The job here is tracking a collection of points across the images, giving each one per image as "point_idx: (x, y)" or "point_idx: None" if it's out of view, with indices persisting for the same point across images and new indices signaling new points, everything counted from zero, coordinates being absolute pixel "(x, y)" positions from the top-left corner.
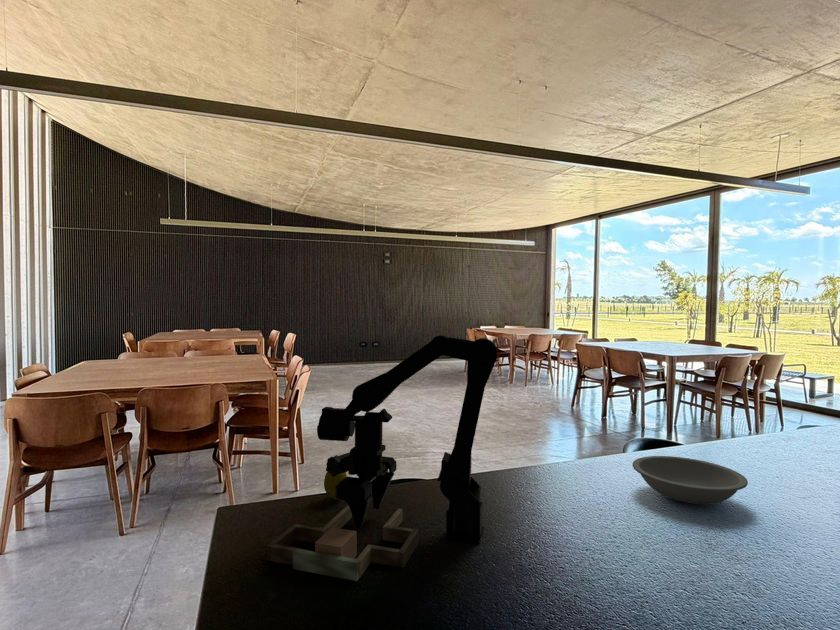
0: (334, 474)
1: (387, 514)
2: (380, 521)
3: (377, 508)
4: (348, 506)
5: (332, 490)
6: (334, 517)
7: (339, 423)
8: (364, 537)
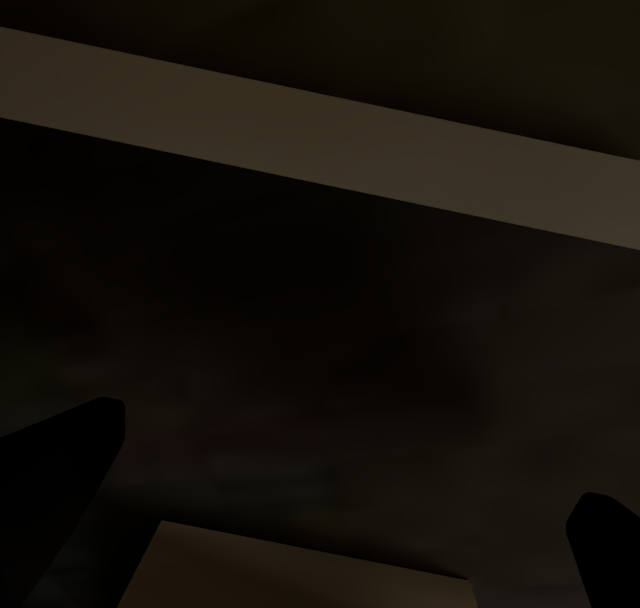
0: None
1: None
2: (450, 478)
3: (570, 525)
4: (632, 196)
5: None
6: (179, 70)
7: None
8: (165, 409)
